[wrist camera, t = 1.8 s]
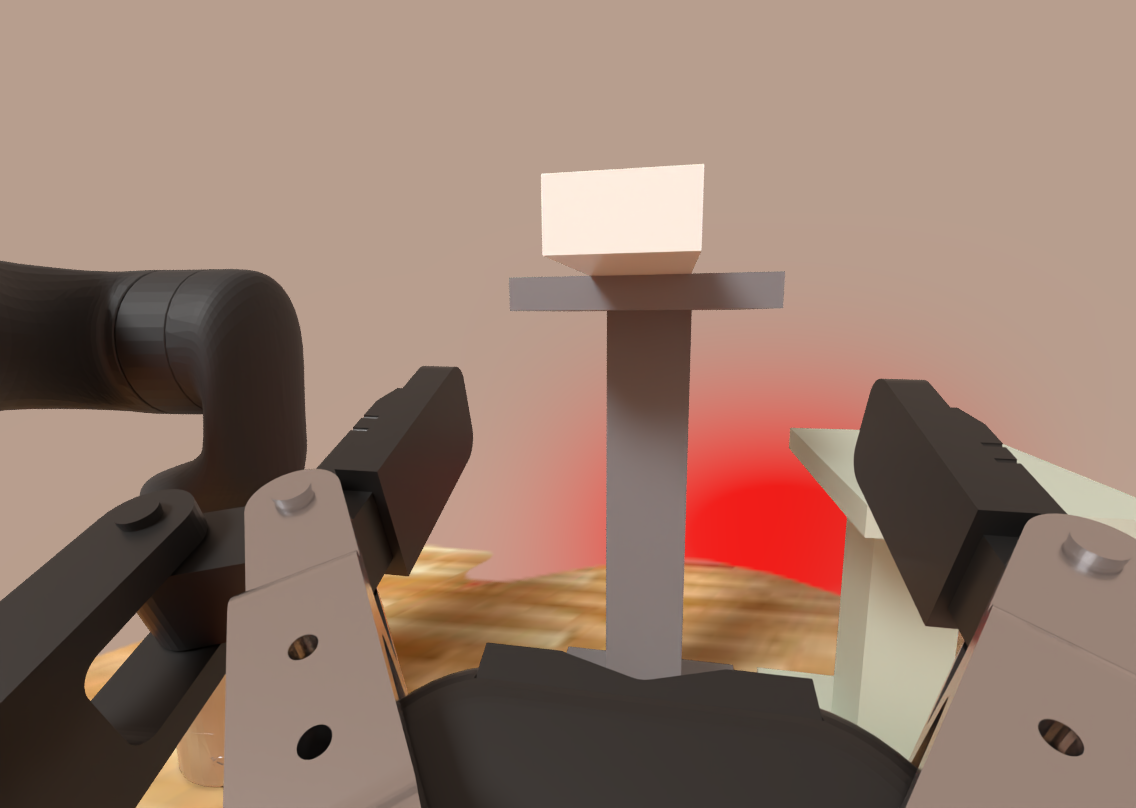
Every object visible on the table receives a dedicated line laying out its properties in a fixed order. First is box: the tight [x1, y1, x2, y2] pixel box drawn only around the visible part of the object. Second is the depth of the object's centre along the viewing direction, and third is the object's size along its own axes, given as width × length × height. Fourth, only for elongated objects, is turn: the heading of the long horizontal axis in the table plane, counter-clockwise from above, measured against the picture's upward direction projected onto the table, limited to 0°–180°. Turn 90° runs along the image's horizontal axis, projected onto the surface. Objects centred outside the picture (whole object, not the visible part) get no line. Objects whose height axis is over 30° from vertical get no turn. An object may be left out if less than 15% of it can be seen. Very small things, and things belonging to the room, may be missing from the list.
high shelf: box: [509, 272, 785, 680], centre depth 35 cm, size 18×14×32 cm
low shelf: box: [757, 428, 1136, 760], centre depth 33 cm, size 18×14×22 cm
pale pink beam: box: [541, 164, 704, 276], centre depth 25 cm, size 22×4×2 cm, turn 169°
